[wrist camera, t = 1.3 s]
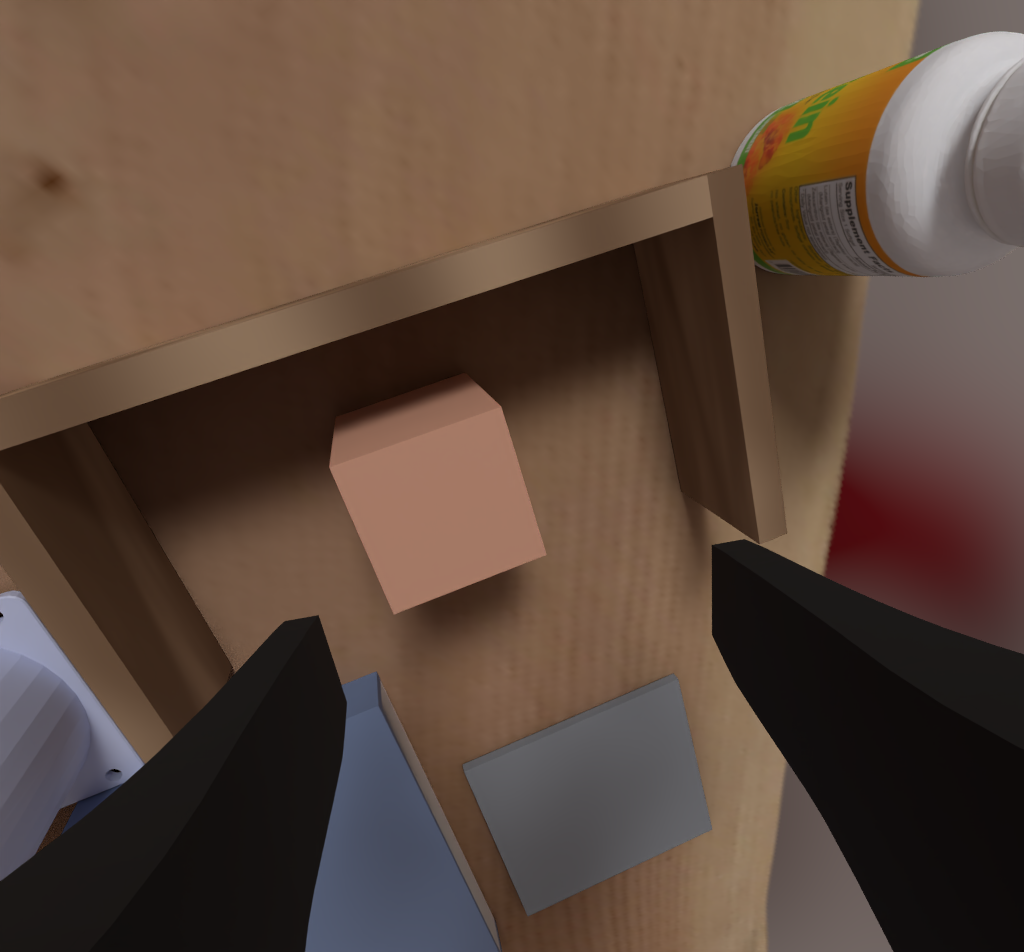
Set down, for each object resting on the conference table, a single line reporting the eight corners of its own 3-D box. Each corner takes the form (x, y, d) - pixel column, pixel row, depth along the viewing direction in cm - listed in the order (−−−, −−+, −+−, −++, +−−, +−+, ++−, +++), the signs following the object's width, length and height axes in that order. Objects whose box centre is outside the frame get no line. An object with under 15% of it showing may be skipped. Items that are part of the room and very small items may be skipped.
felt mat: (525, 908, 29) (527, 916, 29) (462, 764, 25) (463, 771, 25) (708, 822, 31) (712, 829, 30) (673, 673, 27) (678, 679, 26)
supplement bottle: (826, 70, 20) (1209, -92, 11) (873, 219, 22) (1225, 186, 13) (694, 163, 20) (972, 77, 11) (754, 304, 22) (1028, 329, 13)
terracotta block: (384, 532, 21) (394, 614, 16) (335, 416, 20) (329, 467, 15) (502, 489, 22) (546, 554, 17) (464, 372, 20) (501, 406, 15)
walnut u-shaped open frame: (204, 677, 21) (163, 788, 17) (23, 386, 17) (-97, 429, 13) (703, 482, 24) (787, 533, 19) (652, 188, 20) (742, 163, 15)
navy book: (493, 911, 30) (505, 965, 27) (275, 1012, 28) (268, 1078, 26) (376, 663, 24) (378, 705, 21) (90, 777, 22) (60, 836, 20)
